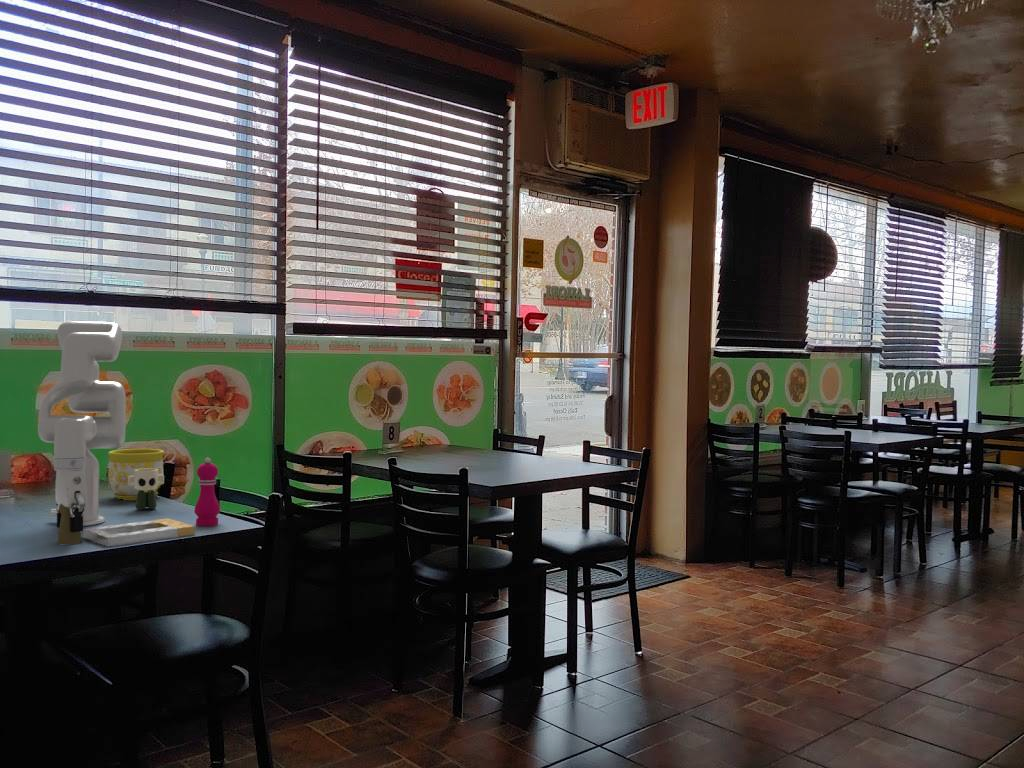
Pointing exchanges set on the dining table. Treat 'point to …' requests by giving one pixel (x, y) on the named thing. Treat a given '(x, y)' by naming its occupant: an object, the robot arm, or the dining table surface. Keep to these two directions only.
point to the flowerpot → (132, 469)
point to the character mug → (145, 486)
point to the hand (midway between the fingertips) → (69, 529)
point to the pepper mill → (207, 495)
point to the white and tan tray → (138, 532)
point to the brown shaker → (67, 528)
